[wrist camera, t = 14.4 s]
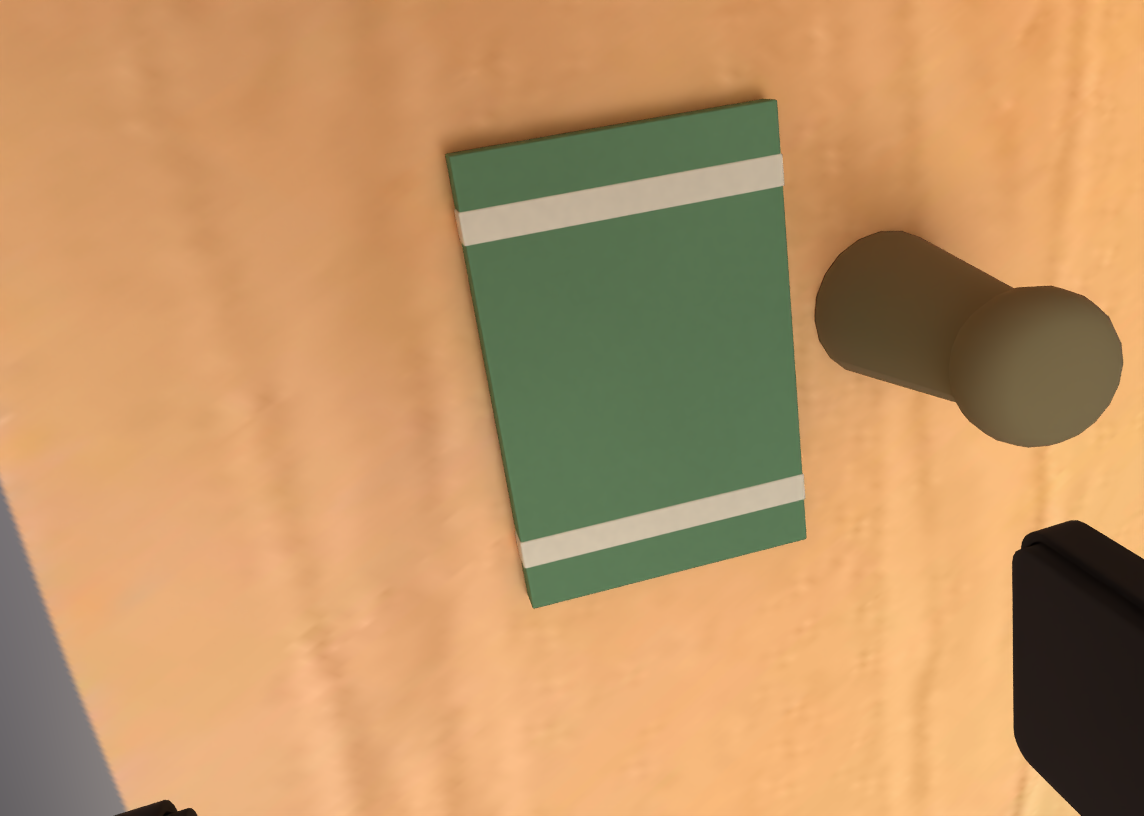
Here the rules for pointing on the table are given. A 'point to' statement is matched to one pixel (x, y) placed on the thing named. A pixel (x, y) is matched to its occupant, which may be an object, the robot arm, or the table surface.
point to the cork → (970, 338)
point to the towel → (637, 343)
